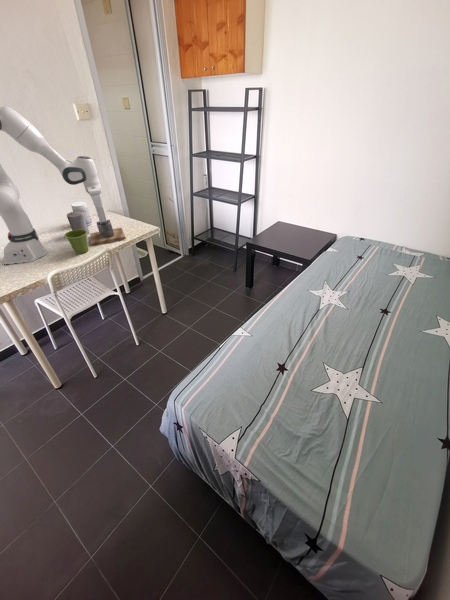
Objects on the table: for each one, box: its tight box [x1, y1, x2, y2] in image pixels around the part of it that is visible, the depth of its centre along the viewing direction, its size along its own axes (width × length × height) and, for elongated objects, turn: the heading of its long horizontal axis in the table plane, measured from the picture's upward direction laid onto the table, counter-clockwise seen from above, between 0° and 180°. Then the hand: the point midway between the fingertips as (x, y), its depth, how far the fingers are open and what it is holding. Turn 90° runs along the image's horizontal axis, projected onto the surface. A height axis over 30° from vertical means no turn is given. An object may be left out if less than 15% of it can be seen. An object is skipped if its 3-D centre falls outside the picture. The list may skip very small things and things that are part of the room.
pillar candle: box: [66, 211, 90, 235], centre depth 182 cm, size 10×10×15 cm
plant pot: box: [64, 229, 89, 255], centre depth 162 cm, size 12×12×11 cm
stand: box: [89, 219, 127, 247], centre depth 177 cm, size 20×16×11 cm
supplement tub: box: [70, 201, 93, 227], centre depth 196 cm, size 10×10×15 cm
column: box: [94, 205, 108, 225], centre depth 173 cm, size 5×5×21 cm
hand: (100, 211), depth 170 cm, fingers closed on column, 4 cm apart
